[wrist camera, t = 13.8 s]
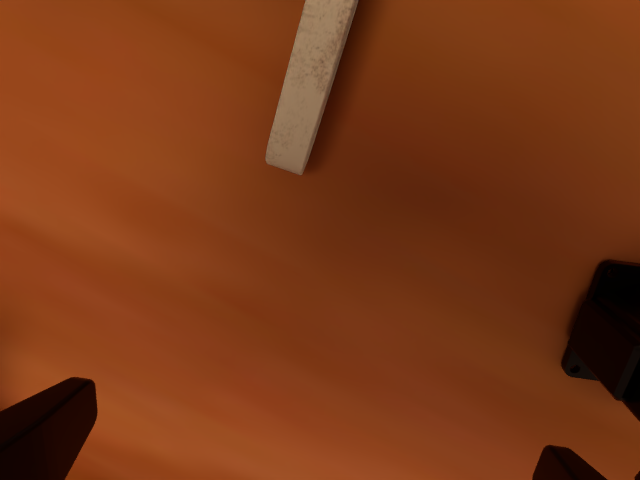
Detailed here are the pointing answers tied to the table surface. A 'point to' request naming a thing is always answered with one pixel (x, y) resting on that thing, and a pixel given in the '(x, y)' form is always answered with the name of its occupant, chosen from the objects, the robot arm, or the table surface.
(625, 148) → the table surface
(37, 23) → the table surface
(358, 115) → the table surface
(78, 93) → the table surface
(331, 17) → the wrench
